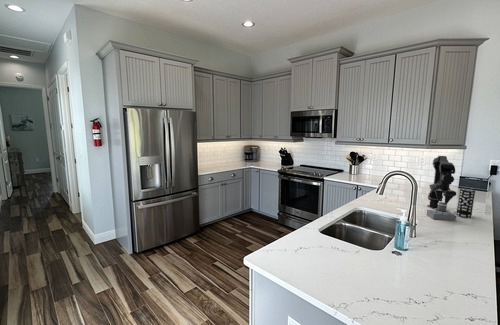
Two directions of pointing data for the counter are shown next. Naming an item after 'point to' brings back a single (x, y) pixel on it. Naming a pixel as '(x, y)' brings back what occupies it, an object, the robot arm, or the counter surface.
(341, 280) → the counter surface
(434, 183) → the robot arm
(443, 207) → the lens
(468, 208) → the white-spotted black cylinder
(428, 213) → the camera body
